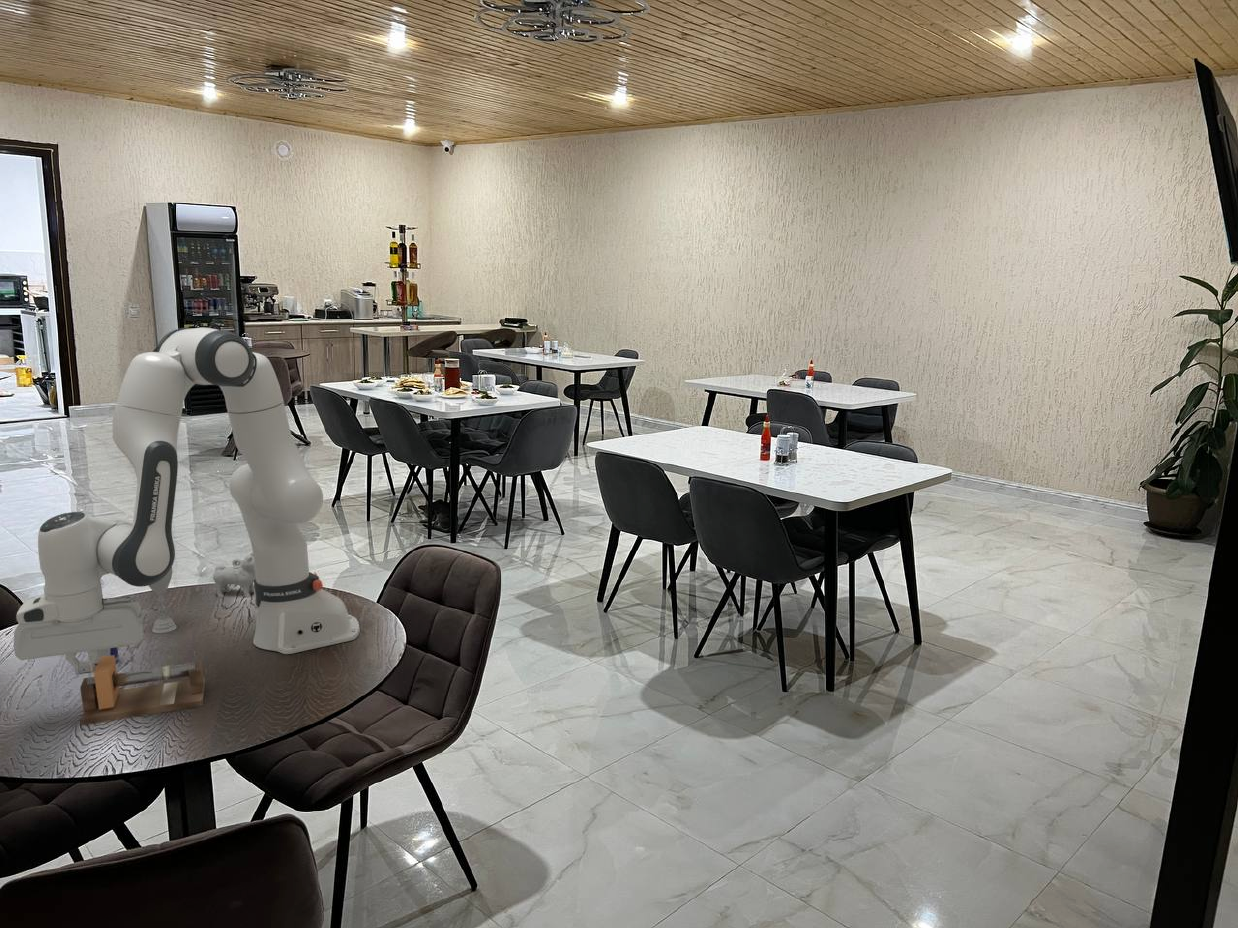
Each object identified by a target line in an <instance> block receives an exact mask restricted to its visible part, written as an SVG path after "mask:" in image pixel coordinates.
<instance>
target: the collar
mask: <svg viewBox="0 0 1238 928" xmlns="http://www.w3.org/2000/svg"><path fill="white" fill-rule="evenodd" d="M113 674H118V671H117V663H116V661H115V655H111V656H104V657H100V659H99V662H98V664H97V667H96V668H95V671H94V672H93V677H95V684H96V691H97V698H98V705H99V709H105V708H112V707H114V705H115V702H116V699H117V695H118V692H119V690H120V687H113V681H112V675H113Z"/></svg>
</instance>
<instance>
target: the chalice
mask: <svg viewBox="0 0 1238 928" xmlns="http://www.w3.org/2000/svg"><path fill="white" fill-rule="evenodd" d="M172 576H173V566H172V567H171V569H170V571H169V572H168V573H167V574H166V575H165V576H164V577H163V578H162V579H161V580H159V581H158V582H156V583H154V584H152V585H149V586H148V587H149V588H150V590H151V591H152V592H153V593H154V594H157V596H158V597H157V600H156V602H157V603H158V605H159V606H158V608H157V610H158V611H159V613H160V614H159V615H160V616H159V617H158V618H157V619H156V620H155V621H154V624H153V625H152V626H153V627H152V629H151V631H152V633H154V634H164V633H169V632H172V631H174V630H176V629H177V627H178V626H177V624H175V621H173V619H172V618H171V617H170V616H167V615H166V614H165V613H166V610H167V607H166V606H165V601H166V600H165V598H164V593H165V592H167V591H168V588H169V585H170V583H171V581H172Z"/></svg>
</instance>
